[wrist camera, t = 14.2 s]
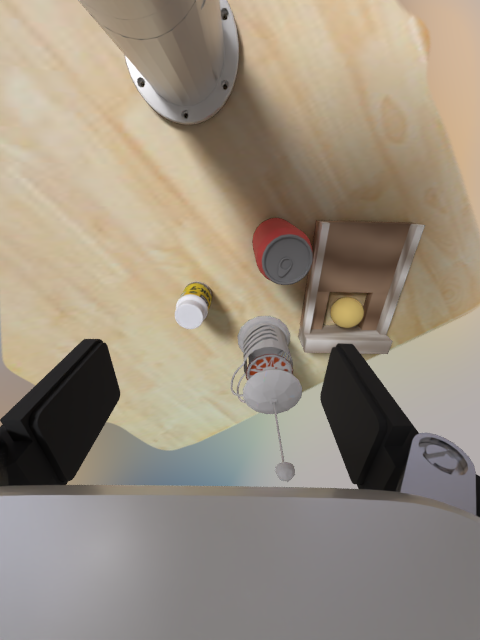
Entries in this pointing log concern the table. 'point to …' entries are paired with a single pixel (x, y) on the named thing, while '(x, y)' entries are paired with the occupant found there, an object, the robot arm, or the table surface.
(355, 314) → the ball
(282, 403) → the french press
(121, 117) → the table surface
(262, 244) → the beer can
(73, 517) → the robot arm
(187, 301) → the supplement bottle
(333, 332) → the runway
